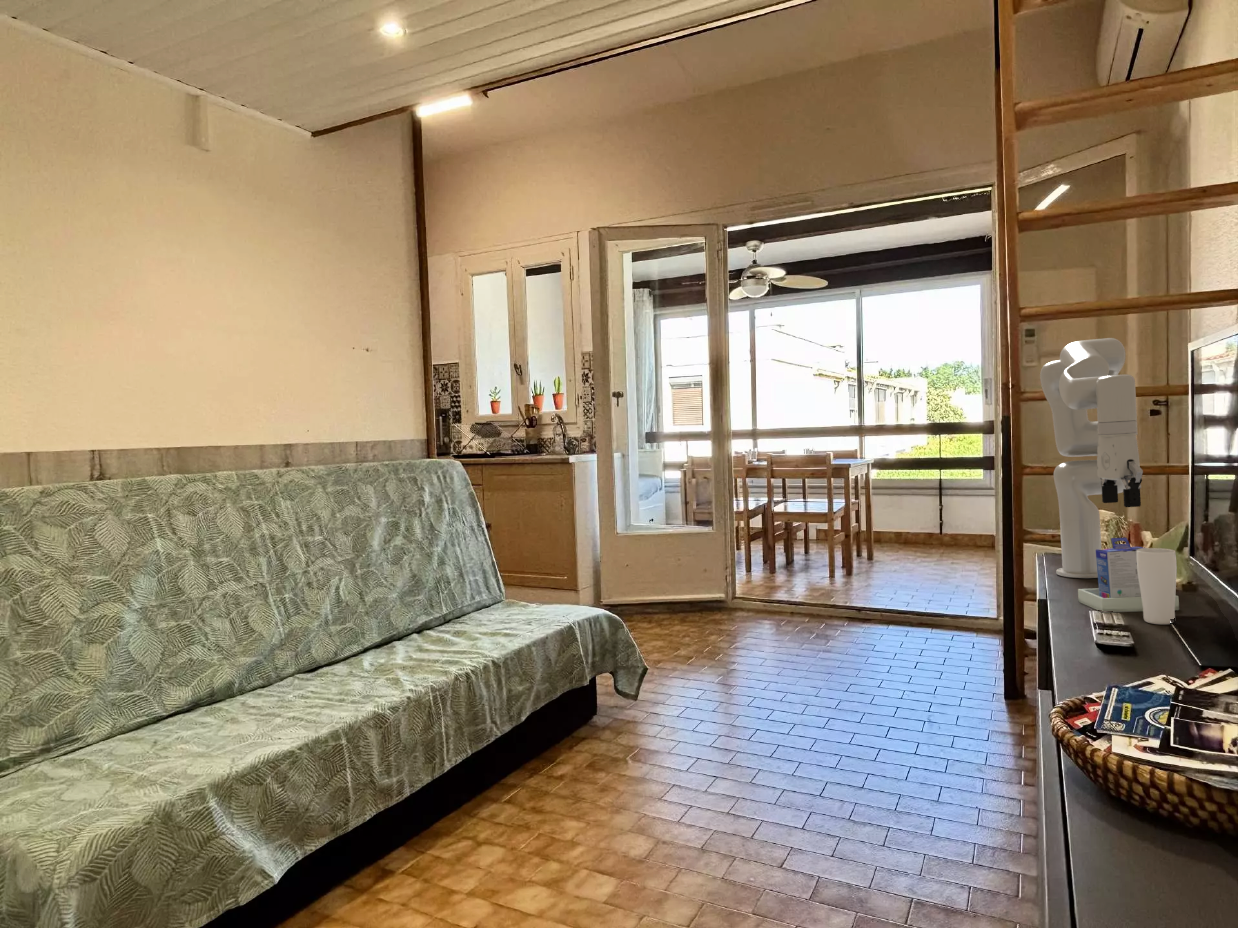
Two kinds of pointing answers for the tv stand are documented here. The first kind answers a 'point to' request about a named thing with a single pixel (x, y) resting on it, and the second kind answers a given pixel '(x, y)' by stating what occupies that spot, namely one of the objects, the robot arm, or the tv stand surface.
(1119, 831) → the tv stand surface
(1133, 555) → the ink cartridge box
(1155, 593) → the drinking glass
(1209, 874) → the tv stand surface
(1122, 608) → the tray
